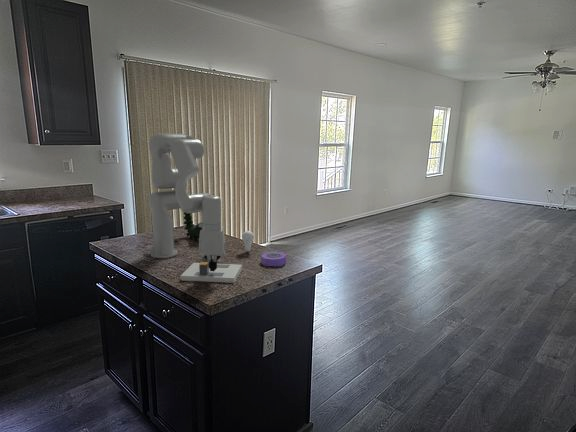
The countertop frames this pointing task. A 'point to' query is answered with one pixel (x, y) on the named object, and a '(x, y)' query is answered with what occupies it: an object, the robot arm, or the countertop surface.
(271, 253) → the masking tape
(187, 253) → the countertop surface
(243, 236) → the lightbulb
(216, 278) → the board
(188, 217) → the toy figurine
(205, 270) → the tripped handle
